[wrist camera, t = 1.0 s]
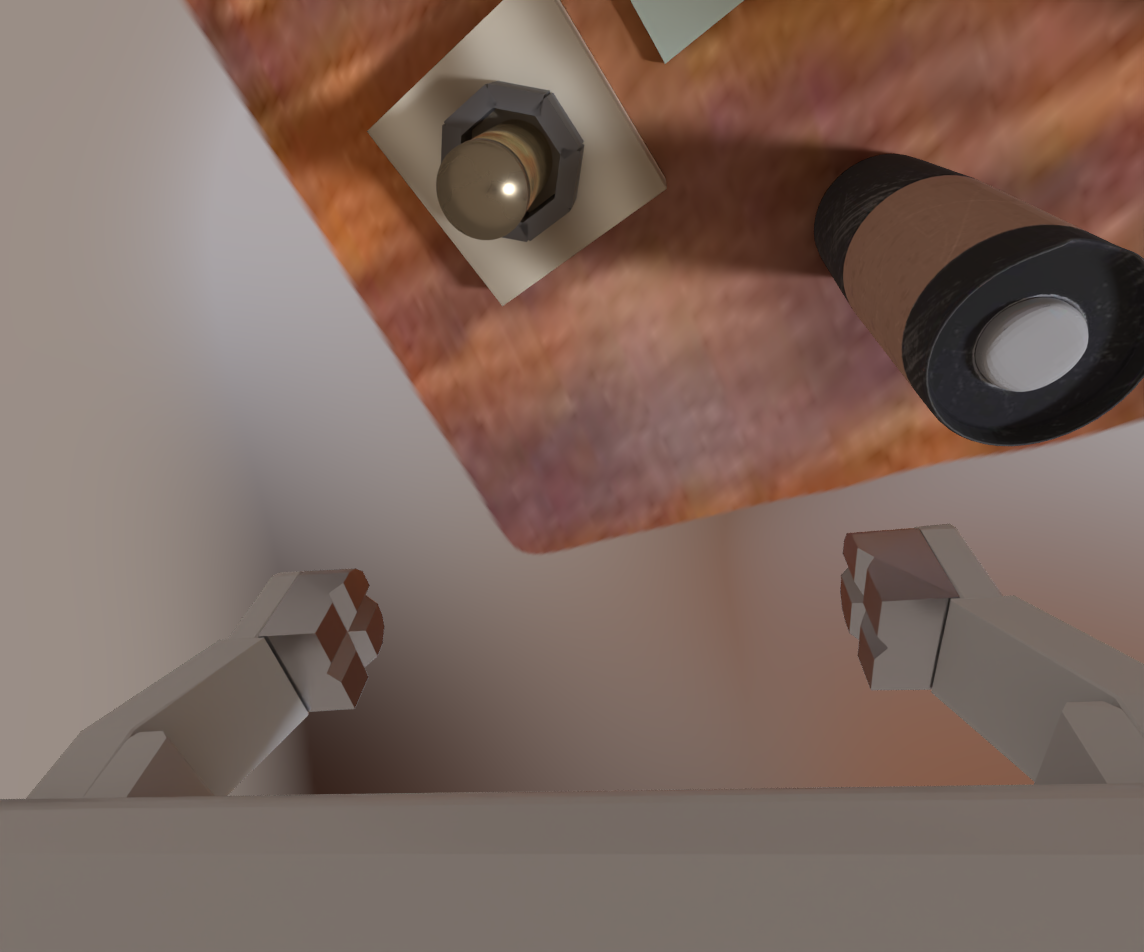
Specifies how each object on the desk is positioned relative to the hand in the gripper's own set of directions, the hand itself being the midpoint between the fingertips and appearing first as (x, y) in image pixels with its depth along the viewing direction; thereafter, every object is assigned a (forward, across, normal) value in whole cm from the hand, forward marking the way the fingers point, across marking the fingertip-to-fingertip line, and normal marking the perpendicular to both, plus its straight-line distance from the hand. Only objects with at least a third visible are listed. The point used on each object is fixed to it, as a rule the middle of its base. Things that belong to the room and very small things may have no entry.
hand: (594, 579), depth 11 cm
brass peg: (+31, +6, -3) cm, 32 cm away
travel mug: (+34, -15, +3) cm, 37 cm away
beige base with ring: (+34, +6, -4) cm, 35 cm away
